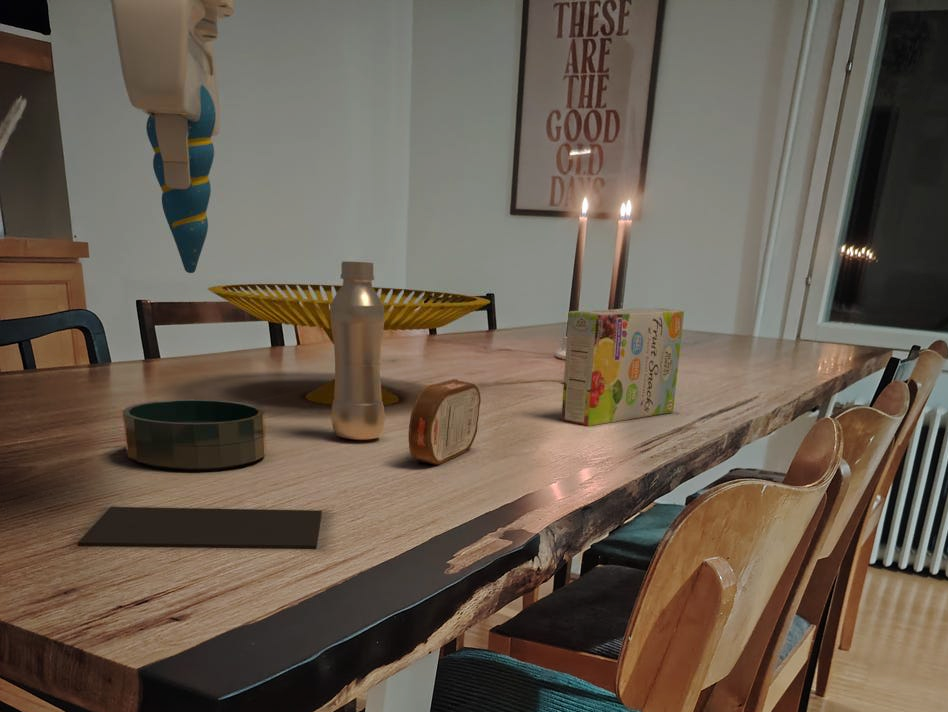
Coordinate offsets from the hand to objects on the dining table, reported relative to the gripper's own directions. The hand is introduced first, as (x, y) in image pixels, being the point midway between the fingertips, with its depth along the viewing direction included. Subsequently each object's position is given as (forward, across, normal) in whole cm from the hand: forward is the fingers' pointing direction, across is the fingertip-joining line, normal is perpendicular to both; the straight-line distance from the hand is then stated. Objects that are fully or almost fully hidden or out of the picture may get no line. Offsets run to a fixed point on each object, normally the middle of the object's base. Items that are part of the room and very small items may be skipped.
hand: (185, 191), depth 73 cm
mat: (+26, +7, +1) cm, 26 cm away
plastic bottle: (+26, -31, +13) cm, 42 cm away
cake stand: (+26, -61, +13) cm, 67 cm away
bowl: (+25, -19, -4) cm, 32 cm away
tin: (+26, -22, +23) cm, 41 cm away
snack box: (+26, -52, +52) cm, 77 cm away
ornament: (+6, 0, 0) cm, 6 cm away
